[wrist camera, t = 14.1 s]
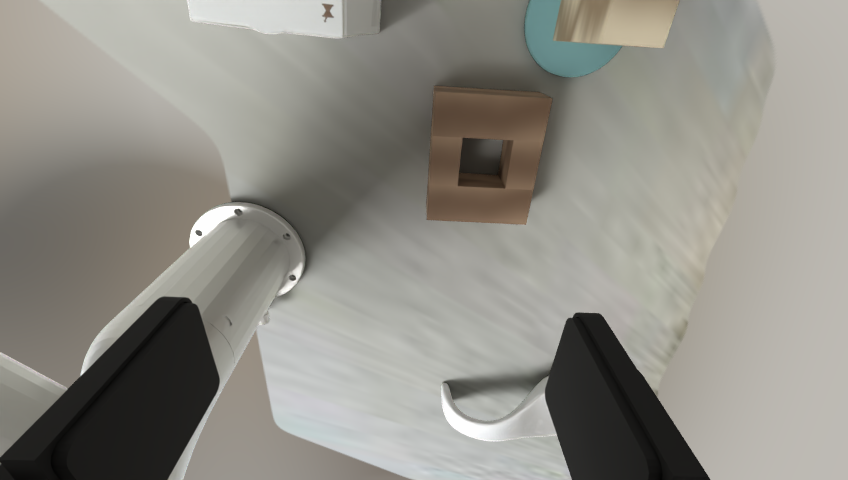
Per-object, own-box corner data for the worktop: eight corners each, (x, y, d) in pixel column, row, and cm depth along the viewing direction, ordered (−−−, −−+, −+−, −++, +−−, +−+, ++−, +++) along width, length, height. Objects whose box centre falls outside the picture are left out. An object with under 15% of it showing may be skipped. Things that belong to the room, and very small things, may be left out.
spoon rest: (607, 355, 52) (632, 399, 46) (594, 409, 58) (615, 455, 52) (439, 364, 53) (441, 408, 47) (442, 417, 59) (445, 463, 52)
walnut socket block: (516, 208, 41) (526, 224, 37) (426, 203, 41) (426, 219, 37) (539, 92, 35) (552, 98, 32) (433, 85, 35) (435, 91, 31)
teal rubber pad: (611, 79, 35) (616, 80, 34) (516, 73, 34) (518, 74, 33) (644, -41, 30) (651, -43, 29) (535, -49, 30) (539, -52, 29)
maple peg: (597, 44, 32) (663, 48, 24) (552, 40, 32) (601, 43, 23) (612, -11, 30) (689, -29, 22) (564, -15, 30) (622, -35, 22)
